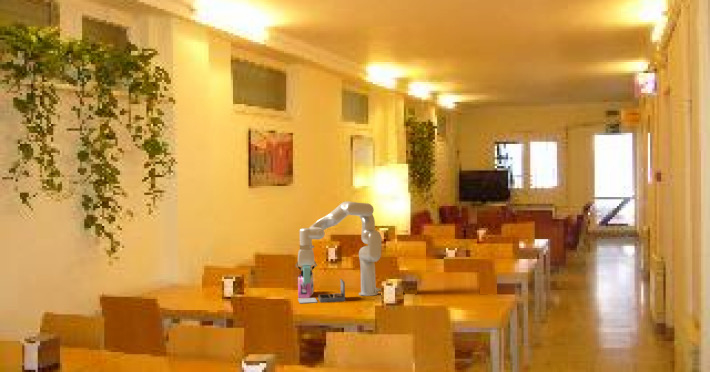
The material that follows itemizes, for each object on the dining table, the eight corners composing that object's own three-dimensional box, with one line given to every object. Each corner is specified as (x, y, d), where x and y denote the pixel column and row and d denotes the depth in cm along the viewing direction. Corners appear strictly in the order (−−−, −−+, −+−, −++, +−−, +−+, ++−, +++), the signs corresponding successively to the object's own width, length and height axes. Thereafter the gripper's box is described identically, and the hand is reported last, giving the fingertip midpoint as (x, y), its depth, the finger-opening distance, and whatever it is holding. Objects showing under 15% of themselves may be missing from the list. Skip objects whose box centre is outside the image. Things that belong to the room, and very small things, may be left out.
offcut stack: (339, 298, 522) (339, 292, 521) (343, 301, 510) (343, 295, 510) (333, 298, 521) (332, 293, 520) (337, 301, 509) (337, 296, 509)
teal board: (309, 280, 518) (308, 264, 518) (310, 283, 507) (310, 267, 506) (302, 280, 518) (302, 265, 518) (304, 283, 506) (303, 267, 506)
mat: (315, 298, 521) (315, 297, 521) (317, 302, 505) (317, 301, 505) (297, 299, 520) (297, 298, 520) (299, 303, 504) (299, 302, 504)
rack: (342, 297, 523) (341, 278, 523) (345, 301, 508) (344, 282, 508) (318, 298, 521) (317, 279, 521) (320, 302, 506) (319, 283, 506)
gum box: (310, 298, 524) (309, 277, 524) (297, 298, 525) (297, 277, 524) (313, 292, 548) (313, 272, 548) (302, 292, 549) (301, 272, 548)
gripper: (318, 246, 517) (319, 275, 517) (292, 247, 514) (292, 276, 515) (319, 247, 509) (320, 277, 510) (292, 248, 507) (293, 278, 507)
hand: (306, 276), depth 512 cm, fingers closed on teal board, 4 cm apart
